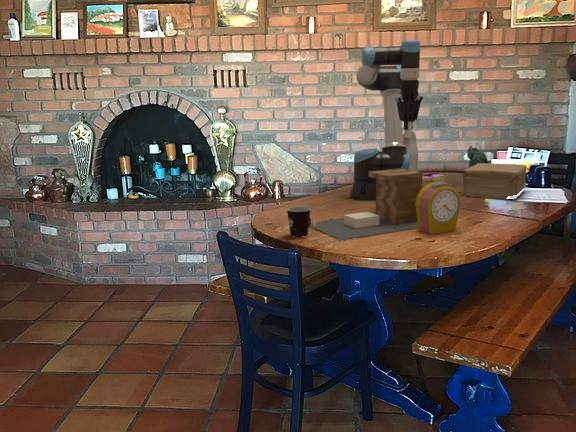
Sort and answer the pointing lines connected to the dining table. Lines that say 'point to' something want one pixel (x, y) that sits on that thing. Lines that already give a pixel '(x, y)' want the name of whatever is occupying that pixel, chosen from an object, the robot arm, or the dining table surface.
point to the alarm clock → (437, 208)
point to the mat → (346, 232)
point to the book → (361, 220)
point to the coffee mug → (299, 221)
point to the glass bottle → (412, 151)
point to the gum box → (434, 179)
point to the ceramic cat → (476, 156)
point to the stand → (397, 194)
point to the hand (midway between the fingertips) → (407, 137)
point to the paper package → (494, 180)
